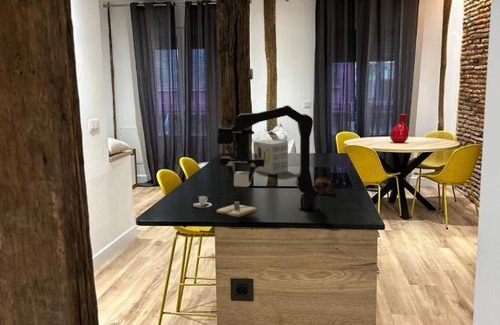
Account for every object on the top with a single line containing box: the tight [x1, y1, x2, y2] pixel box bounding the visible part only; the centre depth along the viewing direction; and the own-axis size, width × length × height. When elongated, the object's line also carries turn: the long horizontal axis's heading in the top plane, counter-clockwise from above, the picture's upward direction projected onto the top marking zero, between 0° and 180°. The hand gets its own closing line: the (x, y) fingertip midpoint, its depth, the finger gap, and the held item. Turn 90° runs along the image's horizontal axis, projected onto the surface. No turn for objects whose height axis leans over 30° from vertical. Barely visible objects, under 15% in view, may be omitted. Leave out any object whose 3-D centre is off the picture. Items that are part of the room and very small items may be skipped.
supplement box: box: [253, 139, 289, 175], centre depth 278 cm, size 17×13×18 cm
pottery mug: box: [313, 176, 333, 195], centre depth 224 cm, size 12×10×8 cm
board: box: [216, 201, 258, 218], centre depth 194 cm, size 12×12×4 cm
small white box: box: [233, 170, 252, 188], centre depth 193 cm, size 6×6×5 cm
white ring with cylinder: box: [193, 195, 213, 208], centre depth 205 cm, size 9×8×4 cm
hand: (242, 181), depth 193 cm, fingers closed on small white box, 6 cm apart
